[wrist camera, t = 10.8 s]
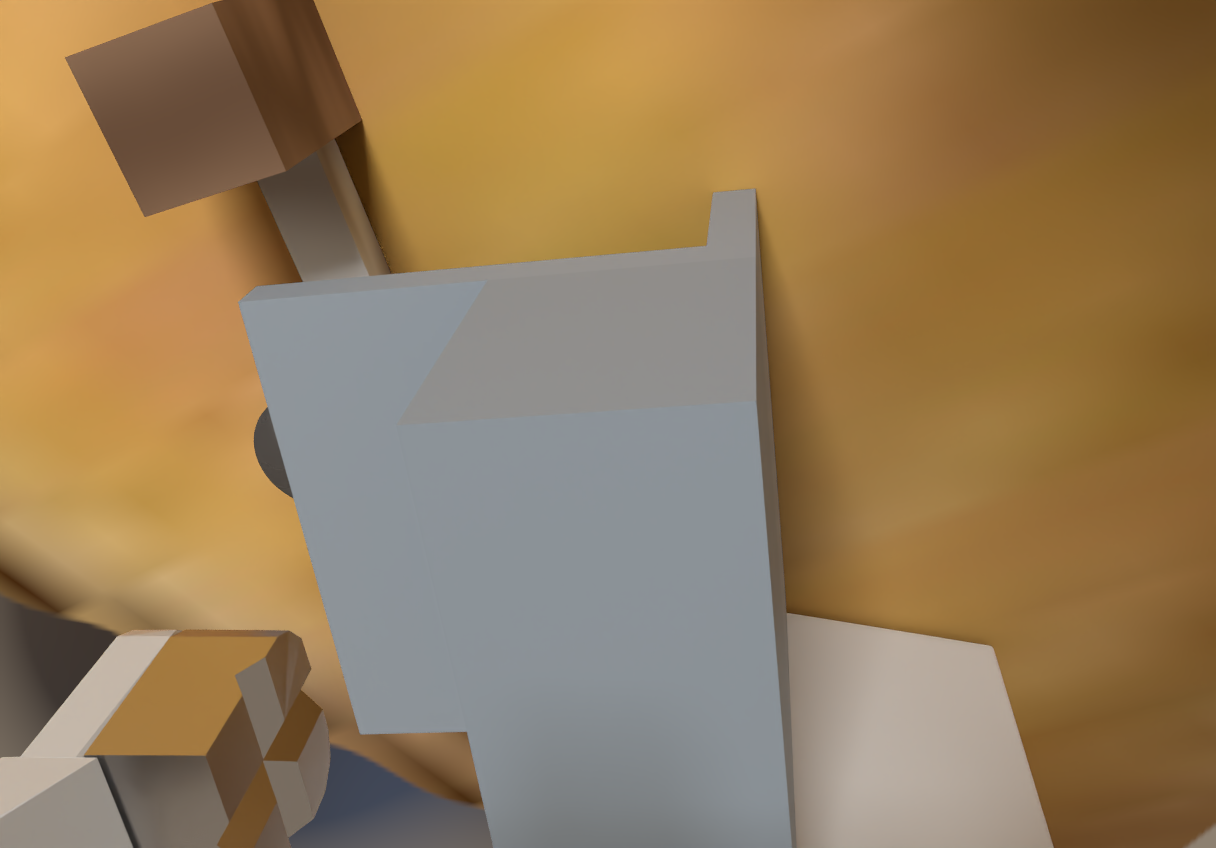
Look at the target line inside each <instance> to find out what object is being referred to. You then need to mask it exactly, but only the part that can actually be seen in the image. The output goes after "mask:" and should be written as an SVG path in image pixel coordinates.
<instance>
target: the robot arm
mask: <svg viewBox="0 0 1216 848" xmlns="http://www.w3.org/2000/svg"><path fill="white" fill-rule="evenodd" d="M310 671H311V666H310V663H309V660H308V657H307V654H306V651H305V648H304V645H303V642H302V639H301V638H300V637H298V636H297V635H295V634H294V633H292V632H291V631H280V630H184V631H180V630H133V631H130V632H128V633H125V634H122V635H120V636H117V638H116V639H115V640H114V642H113V643H112V644H111V645H110V646H109V648H108V649H107V650H106V651H105V652H104V654H103V655H102V656H101V657H100V659H99V660H98V661H97V662H96V664H95V665H94V666H93V667H92V669H91V670H90V671H89V672H88V674H87V675H86V676H85V677H84V679H83V680H82V681H81V682H80V683H79V685H78V686H77V687H76V688H75V690H74V691H73V692H72V693H71V695H70V696H69V697H68V698H67V700H66V701H65V702H64V703H63V705H62V706H61V707H60V708H59V710H58V711H57V712H56V713H55V715H54V716H53V717H52V718H51V719H50V721H49V722H48V723H47V724H46V726H45V727H44V728H43V729H42V731H41V732H40V733H39V735H38V736H37V737H36V738H35V739H34V741H33V742H32V743H31V744H30V745H29V747H28V748H27V749H26V750H25V752H24V753H23V754H22V755H21V757H2V758H1V759H0V848H291V846H290V842H289V839H288V838H289V837H290V836H291V835H293V834H294V833H295V832H296V831H298V830H299V829H300V828H301V827H303V826H304V825H306V824H307V823H308V822H310V821H311V820H312V819H313V818H314V816H315V814H316V812H317V809H318V807H319V805H320V802H321V800H322V797H323V795H324V793H325V789H326V783H327V776H328V770H329V764H330V744H329V731H328V728H327V724H326V720H325V716H324V712H323V709H322V708H321V707H320V706H318V705H317V704H316V703H315V702H314V701H313V700H312V699H311V698H310V697H308V696H307V695H306V694H305V693H304V692H303V691H302V690H301V688H302V686H303V684H304V682H305V680H306V678H307V676H308V674H309V673H310Z"/></svg>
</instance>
